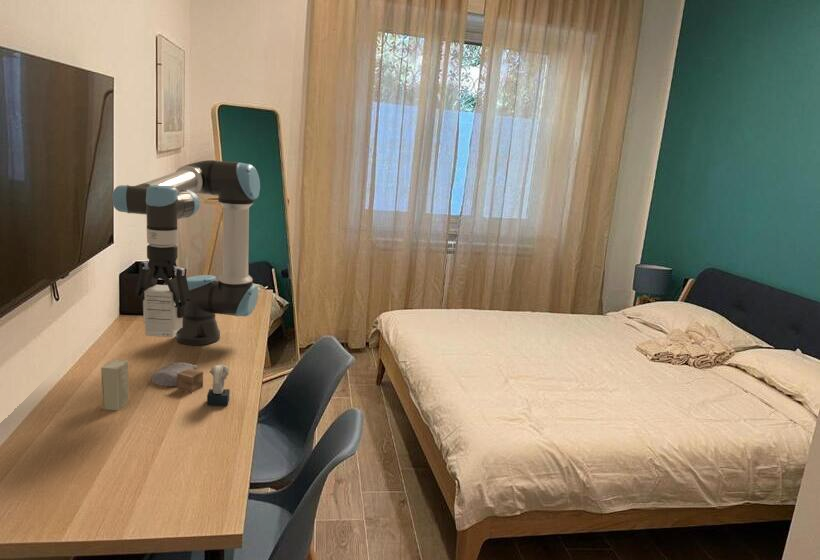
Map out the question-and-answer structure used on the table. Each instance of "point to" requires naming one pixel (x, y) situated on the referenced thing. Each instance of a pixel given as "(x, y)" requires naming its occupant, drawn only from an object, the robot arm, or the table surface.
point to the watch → (218, 387)
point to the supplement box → (159, 311)
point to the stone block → (170, 373)
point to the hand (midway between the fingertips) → (163, 325)
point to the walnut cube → (190, 380)
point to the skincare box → (114, 384)
